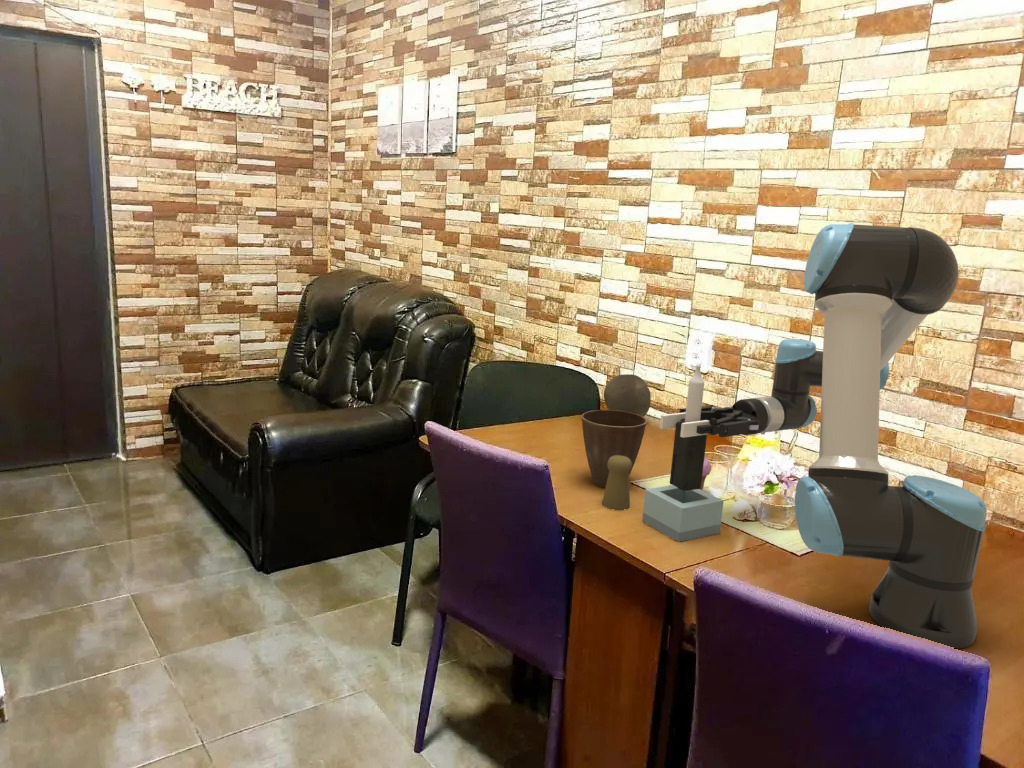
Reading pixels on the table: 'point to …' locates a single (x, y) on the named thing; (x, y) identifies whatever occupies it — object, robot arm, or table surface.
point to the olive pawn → (617, 483)
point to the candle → (689, 441)
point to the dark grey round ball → (627, 394)
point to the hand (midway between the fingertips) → (671, 426)
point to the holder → (682, 512)
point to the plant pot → (610, 439)
